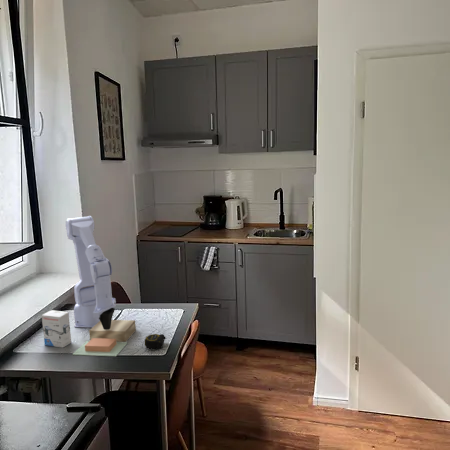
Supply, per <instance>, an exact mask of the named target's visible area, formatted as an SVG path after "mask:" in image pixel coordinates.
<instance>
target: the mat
mask: <svg viewBox="0 0 450 450" xmlns="http://www.w3.org/2000/svg"><path fill="white" fill-rule="evenodd" d="M89 341H90V340H86V341H84V342H83V343H82V345H80V346H79V347H78V349H76V350H75V351H74V352H73V353H72V356H93V357H94V356H95V357H96V356H97V357H98V356H99V357H117V356H118V355H119V353H121V351H122V350H123V349H124V348H125V347H126V345H127V344H128V342H127V341H126V342H117V341H116V343H117V344H116V345H115V346H114V347H113V349H112V350H111V351H110V352H98V351H85V345H86V344H87V343H88V342H89Z"/></svg>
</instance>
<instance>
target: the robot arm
mask: <svg viewBox="0 0 450 450" xmlns="http://www.w3.org/2000/svg"><path fill="white" fill-rule="evenodd" d="M65 230H66V231H65V232H66V235H67V239H68V240H71V241H72V243H73V247H74V252H75V257H76V258H75V259H76V263H77V269H78V275H79V281H78V282H76V283H75V284H74V287H73V290H74V294H73V295H74V300H75V305H74V308H73V318H74V324H75V325H74V328H93V327H94V326H95V325H96V324H97V323H98V322H99V321H101V324H102V326H103V329H104V330H109V329H110V328H111V321H112V320H113V316H114V313H115V310H116V308H115V307H117V305H116V303H117V301H116V300H117V299H116V298H115V297H113V295H112V292H113V291H112V283H111V276H112V274H113V267H112V264H111V261H110V260H109V259H108V258H107V257H106V256H105V255H104V252H103V250H102V248H101V246H100V245H98V244H96V239H95V237H94V230H95V221H94V217H93V216H92V215H88V216H81V217H80V216H78V217H72V218H69V217H68V218H67V219H66V220H65Z"/></svg>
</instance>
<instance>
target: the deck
mask: <svg viewBox="0 0 450 450" xmlns="http://www.w3.org/2000/svg"><path fill="white" fill-rule="evenodd" d="M136 326H137V325H136V320H135V319H134V320H132V319H131V320H129V319H125V320H124V319H112V321H111V328H110V329H109V330H104V329H103V326H102V324H101V321H99V322H98V323H97V324H96V325H95V326H94V327H90V329H89V330H88V334H89V341H90V340H91V339H92V338H105V339H116V342H127V341H128V340H129V339H130V338H131V337H132V335H133V334H134V333H135V332H136V331H137V327H136Z"/></svg>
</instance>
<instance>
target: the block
mask: <svg viewBox="0 0 450 450" xmlns="http://www.w3.org/2000/svg"><path fill="white" fill-rule="evenodd" d="M88 341H89V342H88V343H87V344H86V345H85V351H98V352H110V351H111V350H112V349H113V347H114V346H115V345H116V344H117V343H116V342H117V341H116V339H105V338H92V339H91V340H90V339H89V340H88Z"/></svg>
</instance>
